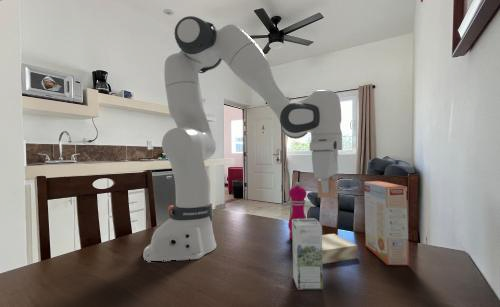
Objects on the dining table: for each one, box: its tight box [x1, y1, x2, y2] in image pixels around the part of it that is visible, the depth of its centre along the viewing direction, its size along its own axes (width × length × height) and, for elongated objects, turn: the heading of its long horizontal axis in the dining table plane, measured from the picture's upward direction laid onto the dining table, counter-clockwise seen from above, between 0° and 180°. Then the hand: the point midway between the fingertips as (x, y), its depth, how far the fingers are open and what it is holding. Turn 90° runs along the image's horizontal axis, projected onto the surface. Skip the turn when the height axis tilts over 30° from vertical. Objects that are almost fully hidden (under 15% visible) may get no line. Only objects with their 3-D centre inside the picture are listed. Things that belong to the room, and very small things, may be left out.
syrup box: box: [291, 218, 324, 291], centre depth 56 cm, size 6×6×14 cm
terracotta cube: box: [317, 178, 339, 199], centre depth 73 cm, size 5×5×5 cm
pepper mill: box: [287, 181, 308, 240], centre depth 87 cm, size 7×7×20 cm
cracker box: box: [363, 180, 410, 266], centre depth 71 cm, size 14×6×21 cm, turn 176°
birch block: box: [322, 233, 359, 265], centre depth 73 cm, size 11×11×4 cm
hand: (327, 190), depth 73 cm, fingers closed on terracotta cube, 5 cm apart
